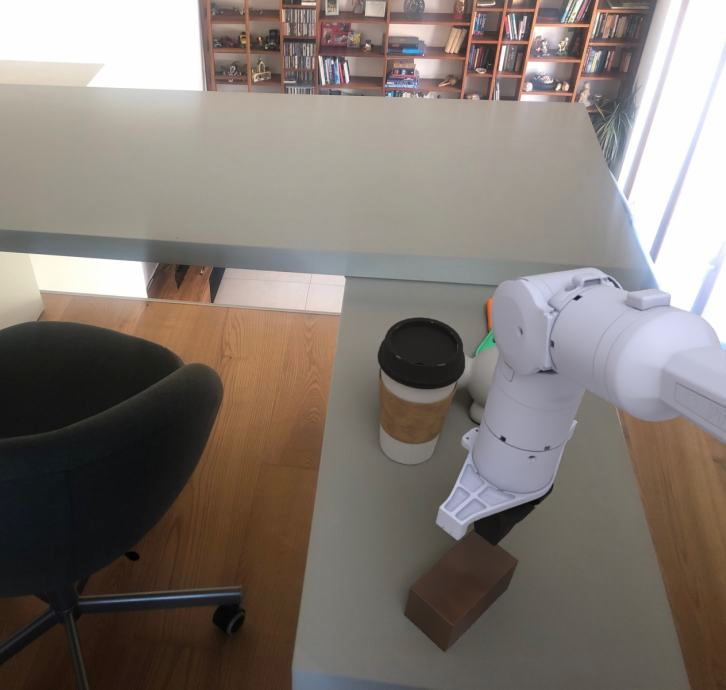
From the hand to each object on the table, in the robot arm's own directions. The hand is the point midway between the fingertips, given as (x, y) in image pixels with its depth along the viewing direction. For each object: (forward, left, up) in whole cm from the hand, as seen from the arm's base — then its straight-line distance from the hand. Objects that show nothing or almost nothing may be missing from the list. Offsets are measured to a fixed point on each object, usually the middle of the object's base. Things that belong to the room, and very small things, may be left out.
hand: (488, 533), depth 57 cm
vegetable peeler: (+19, -30, -8) cm, 36 cm away
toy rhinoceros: (+14, -19, -8) cm, 25 cm away
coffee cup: (+15, -9, -8) cm, 19 cm away
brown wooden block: (0, -2, -6) cm, 6 cm away
